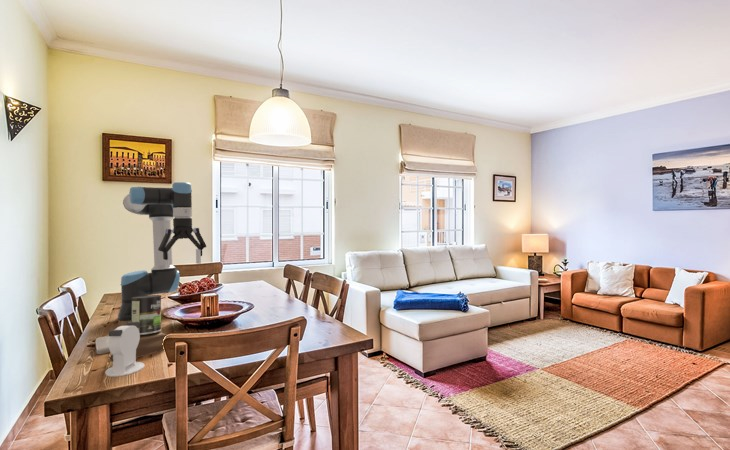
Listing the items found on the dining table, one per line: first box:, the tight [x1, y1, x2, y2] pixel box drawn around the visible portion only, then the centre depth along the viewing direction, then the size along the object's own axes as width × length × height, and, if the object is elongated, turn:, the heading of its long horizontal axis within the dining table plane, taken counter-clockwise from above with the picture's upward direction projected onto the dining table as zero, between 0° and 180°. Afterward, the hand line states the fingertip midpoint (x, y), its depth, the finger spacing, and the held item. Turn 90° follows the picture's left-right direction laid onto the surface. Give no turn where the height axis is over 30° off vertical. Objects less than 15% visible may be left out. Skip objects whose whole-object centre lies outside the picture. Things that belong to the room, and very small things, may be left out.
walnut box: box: [136, 331, 167, 359], centre depth 146 cm, size 12×12×6 cm
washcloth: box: [94, 335, 110, 355], centre depth 152 cm, size 12×18×3 cm, turn 38°
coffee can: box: [131, 294, 162, 335], centre depth 148 cm, size 10×10×14 cm
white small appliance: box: [104, 321, 145, 378], centre depth 128 cm, size 12×11×15 cm
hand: (183, 265), depth 166 cm, fingers open, 13 cm apart
